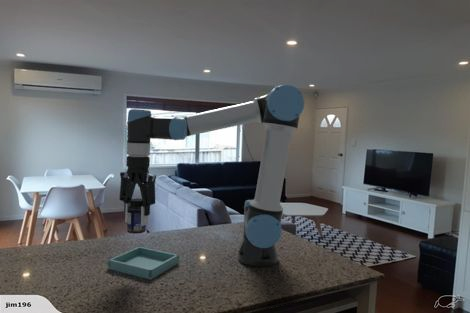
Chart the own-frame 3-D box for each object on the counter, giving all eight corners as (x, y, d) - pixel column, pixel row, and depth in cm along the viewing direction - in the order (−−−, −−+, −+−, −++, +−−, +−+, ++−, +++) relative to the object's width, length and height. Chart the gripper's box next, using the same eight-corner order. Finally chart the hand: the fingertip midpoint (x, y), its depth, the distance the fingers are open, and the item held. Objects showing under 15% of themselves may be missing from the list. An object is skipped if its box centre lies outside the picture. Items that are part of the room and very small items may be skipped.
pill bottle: (148, 229, 120) (149, 198, 119) (141, 234, 114) (142, 202, 113) (131, 228, 121) (132, 197, 120) (123, 233, 115) (124, 200, 114)
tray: (178, 263, 126) (178, 254, 125) (150, 279, 111) (150, 270, 111) (139, 254, 133) (139, 246, 133) (108, 268, 118) (108, 260, 118)
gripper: (168, 157, 115) (166, 225, 117) (124, 153, 123) (123, 216, 125) (153, 158, 108) (151, 230, 110) (108, 154, 116) (107, 221, 118)
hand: (136, 223), depth 117 cm, fingers closed on pill bottle, 6 cm apart
